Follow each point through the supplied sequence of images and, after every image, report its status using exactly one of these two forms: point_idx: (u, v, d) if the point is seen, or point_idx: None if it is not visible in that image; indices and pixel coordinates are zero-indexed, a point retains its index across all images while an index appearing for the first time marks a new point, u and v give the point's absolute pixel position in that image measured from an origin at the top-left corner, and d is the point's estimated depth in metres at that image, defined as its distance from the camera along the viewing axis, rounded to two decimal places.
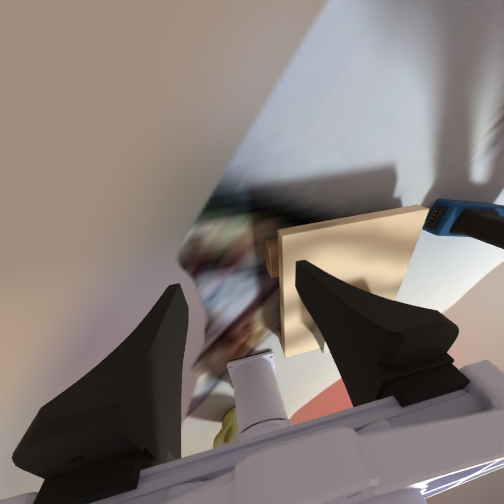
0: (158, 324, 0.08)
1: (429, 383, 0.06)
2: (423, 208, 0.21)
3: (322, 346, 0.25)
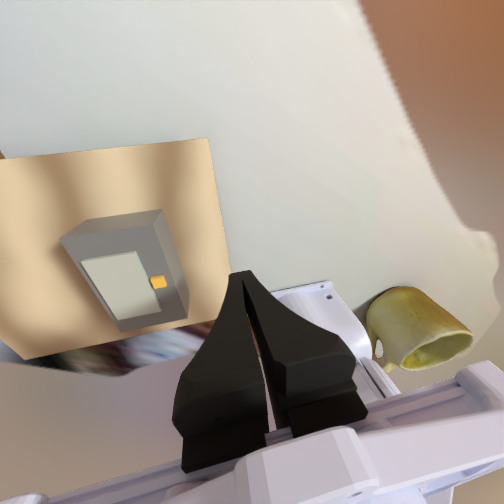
0: (242, 306, 0.09)
1: (324, 414, 0.06)
2: None
3: None
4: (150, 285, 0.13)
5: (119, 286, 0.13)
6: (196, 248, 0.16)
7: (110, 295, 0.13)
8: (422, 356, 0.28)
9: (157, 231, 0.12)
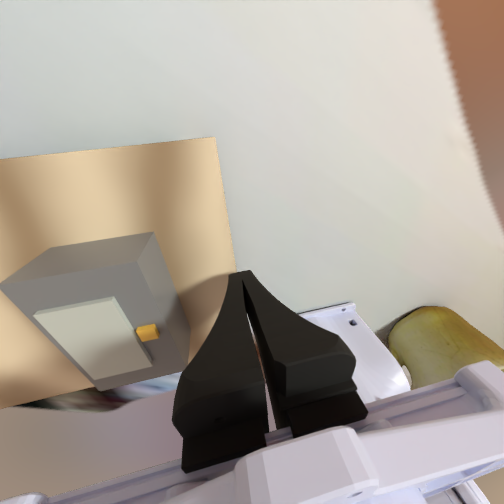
0: (242, 306, 0.09)
1: (324, 414, 0.06)
2: None
3: None
4: (136, 337, 0.10)
5: (92, 341, 0.09)
6: (198, 278, 0.13)
7: (81, 353, 0.10)
8: None
9: (144, 268, 0.09)
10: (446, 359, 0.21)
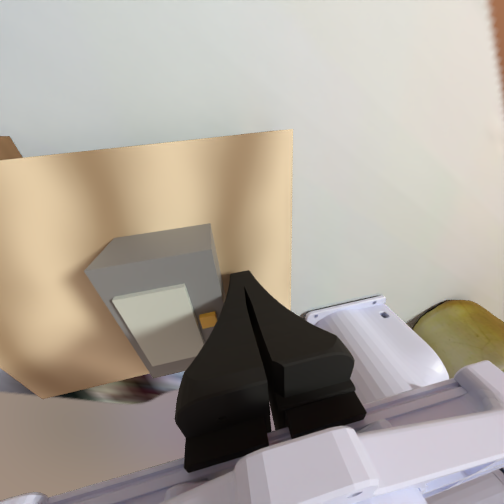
0: (244, 306, 0.09)
1: (322, 415, 0.06)
2: None
3: None
4: (197, 324, 0.10)
5: (158, 327, 0.10)
6: (255, 267, 0.13)
7: (146, 339, 0.10)
8: None
9: (213, 256, 0.09)
10: (476, 350, 0.21)
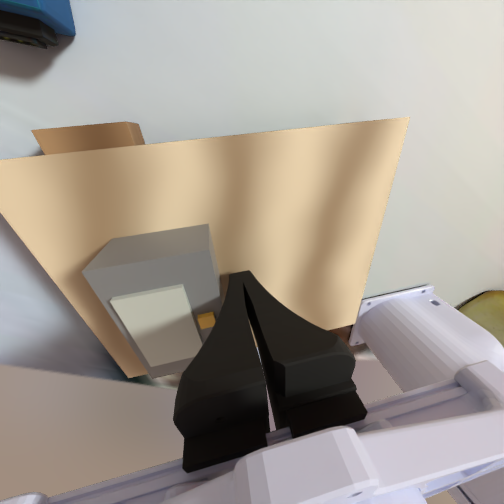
0: (243, 306, 0.09)
1: (323, 414, 0.06)
2: None
3: None
4: (196, 324, 0.10)
5: (157, 328, 0.10)
6: (344, 250, 0.14)
7: (145, 340, 0.10)
8: None
9: (211, 257, 0.09)
10: None
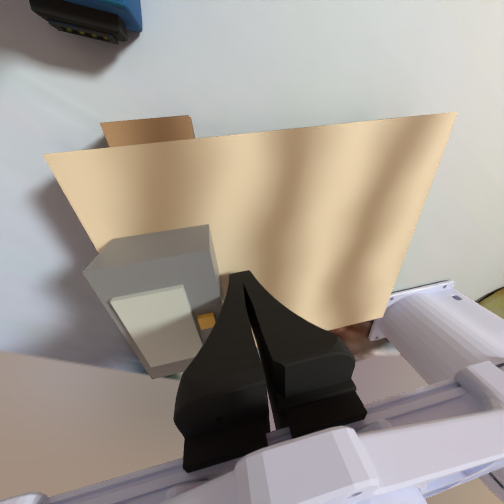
0: (243, 306, 0.09)
1: (323, 414, 0.06)
2: None
3: None
4: (196, 325, 0.10)
5: (157, 328, 0.10)
6: (381, 243, 0.14)
7: (145, 340, 0.10)
8: None
9: (212, 257, 0.09)
10: None
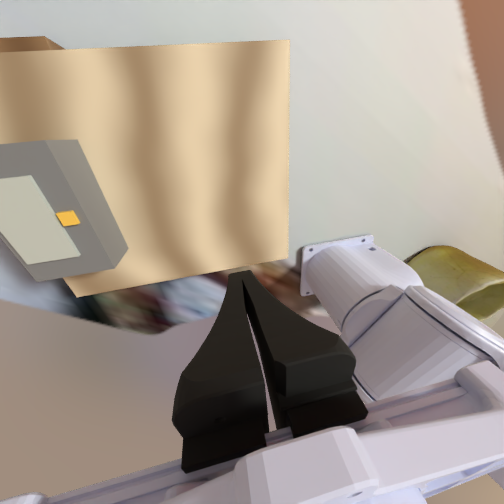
0: (242, 306, 0.09)
1: (324, 414, 0.06)
2: None
3: None
4: (58, 222, 0.12)
5: (18, 219, 0.11)
6: (259, 174, 0.16)
7: (10, 231, 0.12)
8: None
9: (56, 152, 0.11)
10: (453, 280, 0.24)
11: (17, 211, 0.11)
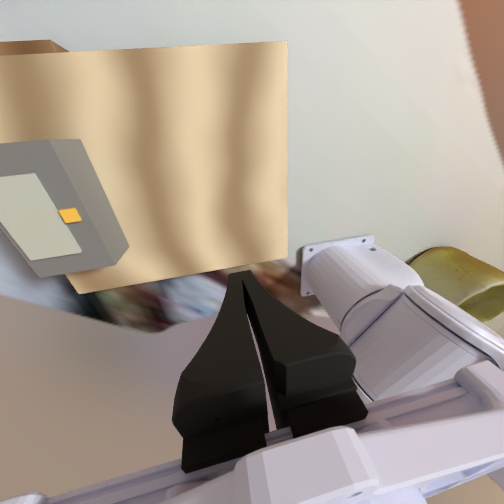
0: (242, 306, 0.09)
1: (324, 414, 0.06)
2: None
3: None
4: (61, 219, 0.12)
5: (22, 216, 0.12)
6: (258, 174, 0.16)
7: (14, 228, 0.12)
8: None
9: (59, 151, 0.11)
10: (455, 281, 0.24)
11: (21, 208, 0.11)
